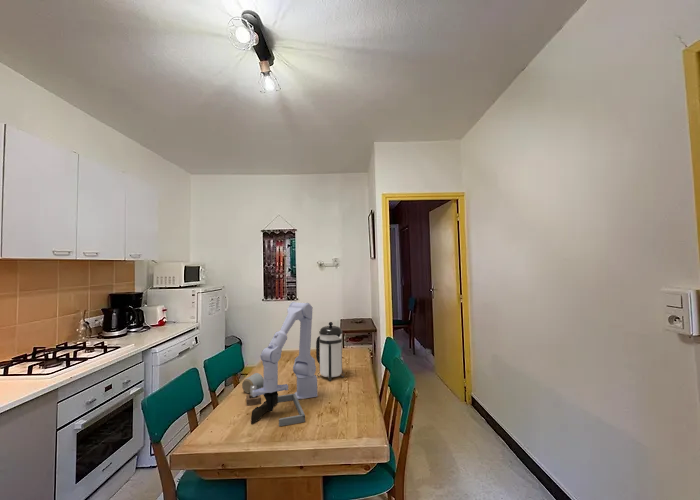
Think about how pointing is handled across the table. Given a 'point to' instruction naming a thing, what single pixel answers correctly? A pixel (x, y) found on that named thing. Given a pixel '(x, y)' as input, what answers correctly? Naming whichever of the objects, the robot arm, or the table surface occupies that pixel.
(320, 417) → the table surface
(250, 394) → the rod
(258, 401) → the hollow square frame
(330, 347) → the coffee press
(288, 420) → the u-shaped frame
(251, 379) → the ceramic mug
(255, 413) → the hand tool
